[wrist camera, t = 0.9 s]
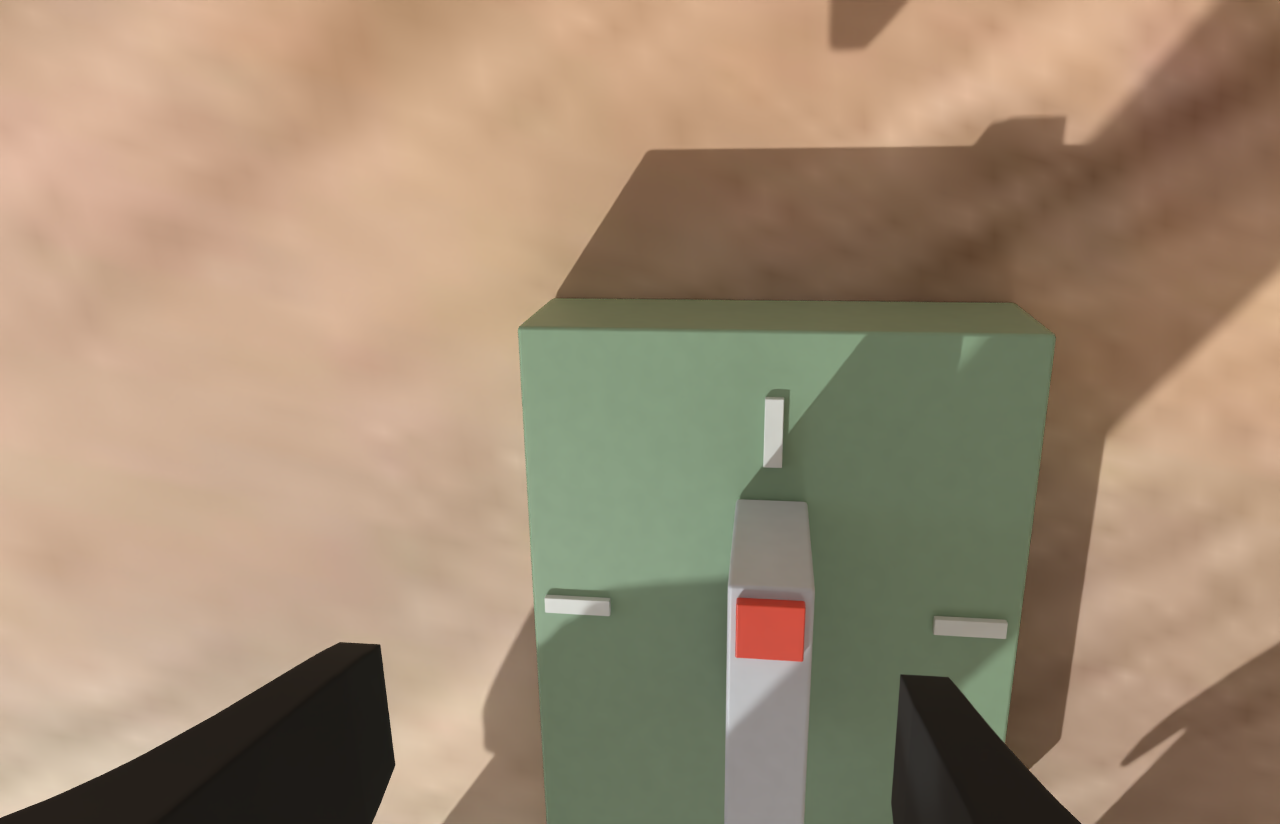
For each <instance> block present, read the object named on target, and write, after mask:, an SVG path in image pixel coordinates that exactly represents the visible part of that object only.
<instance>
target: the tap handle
mask: <svg viewBox="0 0 1280 824" xmlns="http://www.w3.org/2000/svg"><path fill="white" fill-rule="evenodd" d="M814 601H815V586H814V575H813V563H812V552H811V540H810V529H809V517H808V505H807V503H806V502H796V501H770V500H745V499H739V500H737V501H736V506H735V517H734V527H733V537H732V548H731V558H730V568H729V579H728V600H727V668H726V736H725V805H724V824H804V813H805V792H806V771H807V750H808V728H809V707H810V686H811V665H812V644H813V623H814Z"/></svg>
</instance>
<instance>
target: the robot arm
mask: <svg viewBox="0 0 1280 824" xmlns="http://www.w3.org/2000/svg"><path fill="white" fill-rule="evenodd" d="M394 767H395V760H394V752H393V744H392V736H391V728H390V719H389V711H388V703H387V695H386V687H385V679H384V671H383V663H382V655H381V647H380V645H378V644H360V643H343V642H340V643H338V644H336V645H334V646H332V647H330V648H327V649H326V650H324V651H322V652H320V653H318V654H316V655H315V656H313V657H311V658H309V659H308V660H306V661H304V662H303V663H301V664H299V665H298V666H296V667H294V668H293V669H291V670H289V671H288V672H286V673H284V674H283V675H281V676H279V677H278V678H276V679H274V680H273V681H271V682H269V683H268V684H266V685H264V686H263V687H261V688H259V689H258V690H256V691H254V692H253V693H251V694H249V695H248V696H246V697H244V698H243V699H241V700H239V701H238V702H236V703H234V704H233V705H231V706H229V707H228V708H226V709H224V710H223V711H221V712H219V713H218V714H216V715H214V716H212V717H211V718H209V719H207V720H205V721H203V722H201V723H200V724H198V725H196V726H194V727H192V728H191V729H189V730H187V731H185V732H183V733H182V734H180V735H178V736H176V737H174V738H173V739H171V740H169V741H167V742H165V743H163V744H162V745H160V746H158V747H156V748H154V749H153V750H151V751H149V752H147V753H145V754H143V755H141V756H139V757H137V758H136V759H134V760H132V761H130V762H128V763H126V764H124V765H122V766H120V767H117V768H115V769H113V770H111V771H109V772H107V773H105V774H103V775H101V776H99V777H96V778H94V779H92V780H90V781H88V782H86V783H83V784H81V785H79V786H77V787H75V788H72V789H70V790H68V791H66V792H64V793H61V794H59V795H57V796H54V797H52V798H50V799H47V800H45V801H42V802H40V803H37V804H35V805H32V806H30V807H27V808H25V809H22V810H19V811H17V812H14V813H12V814H9V815H7V816H4V817H2V818H0V824H372V822H373V820H374V818H375V815H376V813H377V810H378V808H379V806H380V803H381V801H382V798H383V796H384V793H385V791H386V788H387V785H388V783H389V780H390V778H391V775H392V772H393V770H394ZM891 807H892V816H893V824H1081V823H1080V822H1079V821H1078V820H1077V819H1076V818H1075V817H1074V816H1073V815H1072V814H1071V813H1070V812H1069V811H1068V810H1067V809H1066V808H1065V807H1063V806H1062V805H1061V804H1060V803H1059V802H1058V801H1057V800H1056V798H1055V797H1054V796H1053V795H1052V794H1051V793H1050V792H1049V791H1048V790H1047V789H1046V788H1045V787H1044V786H1043V785H1042V784H1041V783H1040V782H1039V781H1038V780H1037V778H1036V777H1035V776H1034V775H1033V774H1032V773H1031V772H1030V771H1029V770H1028V769H1027V768H1026V767H1025V765H1024V764H1023V763H1022V762H1021V761H1020V760H1019V759H1018V758H1017V757H1016V756H1015V755H1014V753H1013V752H1012V751H1011V750H1010V749H1009V748H1008V747H1007V745H1006V744H1005V743H1004V742H1003V741H1002V740H1001V739H1000V737H999V736H998V735H997V734H996V733H995V731H994V730H993V729H992V728H991V727H990V726H989V724H988V723H987V722H986V721H985V720H984V718H983V717H982V716H981V715H980V714H979V712H978V711H977V710H976V709H975V708H974V706H973V705H972V704H971V703H970V701H969V700H968V699H967V698H966V697H965V695H964V694H963V693H962V692H961V691H960V689H959V688H958V687H957V686H956V685H955V684H954V682H953V681H952V680H951V679H950V678H949V677H940V676H922V675H905V674H900V687H899V701H898V714H897V728H896V742H895V756H894V769H893V783H892V797H891Z"/></svg>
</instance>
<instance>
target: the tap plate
mask: <svg viewBox="0 0 1280 824" xmlns="http://www.w3.org/2000/svg"><path fill="white" fill-rule="evenodd" d="M518 338H519V355H520V373H521V390H522V407H523V424H524V442H525V459H526V476H527V493H528V511H529V528H530V545H531V562H532V580H533V597H534V614H535V631H536V648H537V666H538V683H539V700H540V717H541V735H542V752H543V769H544V786H545V804H546V821H547V824H724V805H725V736H726V668H727V600H728V579H729V568H730V558H731V548H732V537H733V527H734V517H735V506H736V501H737V500H739V499H745V500H770V501H796V502H806V503H807V505H808V517H809V529H810V540H811V552H812V563H813V575H814V586H815V601H814V623H813V644H812V665H811V686H810V707H809V728H808V750H807V771H806V792H805V813H804V824H893V816H892V807H891V797H892V783H893V769H894V756H895V742H896V728H897V714H898V701H899V687H900V674H905V675H922V676H940V677H949V678H950V679H951V680H952V681H953V682H954V684H955V685H956V686H957V687H958V688H959V689H960V691H961V692H962V693H963V694H964V695H965V697H966V698H967V699H968V700H969V701H970V703H971V704H972V705H973V706H974V708H975V709H976V710H977V711H978V712H979V714H980V715H981V716H982V717H983V718H984V720H985V721H986V722H987V723H988V724H989V726H990V727H991V728H992V729H993V730H994V731H995V733H996V734H997V735H998V736H999V737H1000V739H1001V740H1002V741H1003V742H1004V743H1005V740H1006V732H1007V724H1008V716H1009V708H1010V700H1011V692H1012V684H1013V676H1014V668H1015V660H1016V652H1017V645H1018V637H1019V629H1020V621H1021V613H1022V605H1023V597H1024V589H1025V581H1026V573H1027V565H1028V557H1029V549H1030V541H1031V533H1032V525H1033V517H1034V509H1035V501H1036V493H1037V485H1038V477H1039V469H1040V461H1041V453H1042V445H1043V437H1044V429H1045V421H1046V413H1047V405H1048V397H1049V389H1050V381H1051V373H1052V365H1053V357H1054V349H1055V341H1056V337H1055V334H1053V333H1052V332H1051V331H1050V330H1048V329H1047V328H1046V327H1045V326H1043V325H1042V324H1041V323H1039V322H1038V321H1037V320H1036V319H1034V318H1033V317H1032V316H1031V315H1029V314H1028V313H1027V312H1026V311H1024V310H1023V309H1022V308H1020V307H1019V306H1018V305H1017V304H1015V303H982V302H884V301H787V300H689V299H591V298H554V299H552V300H550V301H549V302H548V303H547V304H546V305H544V306H543V307H542V308H541V309H540V310H539V311H537V312H536V313H535V314H534V315H533V316H531V317H530V318H529V319H528V320H527V321H525V322H524V323H523V324H522V325H521V326H519V328H518Z"/></svg>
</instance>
